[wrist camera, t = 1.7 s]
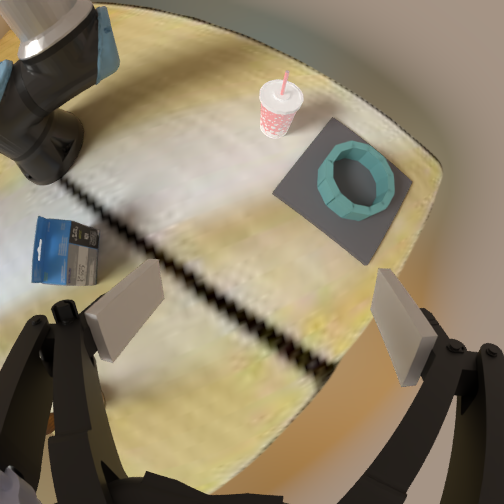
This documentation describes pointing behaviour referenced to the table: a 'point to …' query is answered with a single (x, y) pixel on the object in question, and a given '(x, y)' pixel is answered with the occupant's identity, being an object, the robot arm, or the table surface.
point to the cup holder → (345, 190)
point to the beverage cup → (279, 106)
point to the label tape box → (65, 253)
